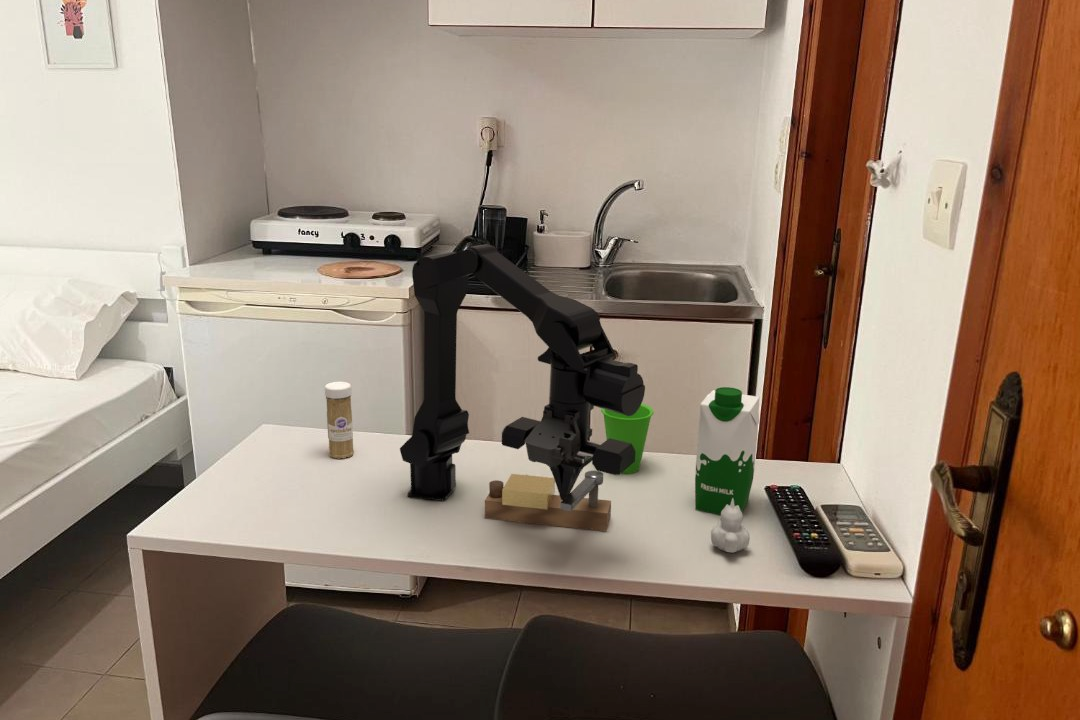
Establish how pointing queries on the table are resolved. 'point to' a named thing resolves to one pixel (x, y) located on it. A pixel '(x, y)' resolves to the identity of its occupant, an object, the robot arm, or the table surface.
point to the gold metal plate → (528, 491)
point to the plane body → (551, 511)
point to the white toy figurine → (730, 530)
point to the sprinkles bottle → (339, 419)
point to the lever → (582, 490)
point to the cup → (629, 431)
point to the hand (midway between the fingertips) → (564, 499)
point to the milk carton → (726, 449)
